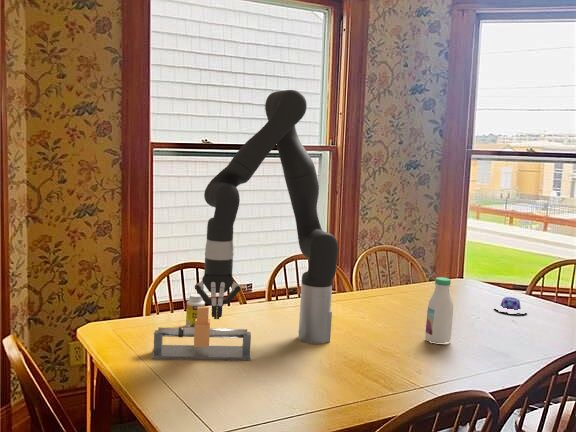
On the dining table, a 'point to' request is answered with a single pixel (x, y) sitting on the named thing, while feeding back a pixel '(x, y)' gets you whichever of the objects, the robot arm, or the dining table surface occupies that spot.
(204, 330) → the collar
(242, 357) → the pipe stand
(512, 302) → the pudding
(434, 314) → the milk bottle
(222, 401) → the dining table surface
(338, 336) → the dining table surface
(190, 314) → the supplement bottle
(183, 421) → the dining table surface
